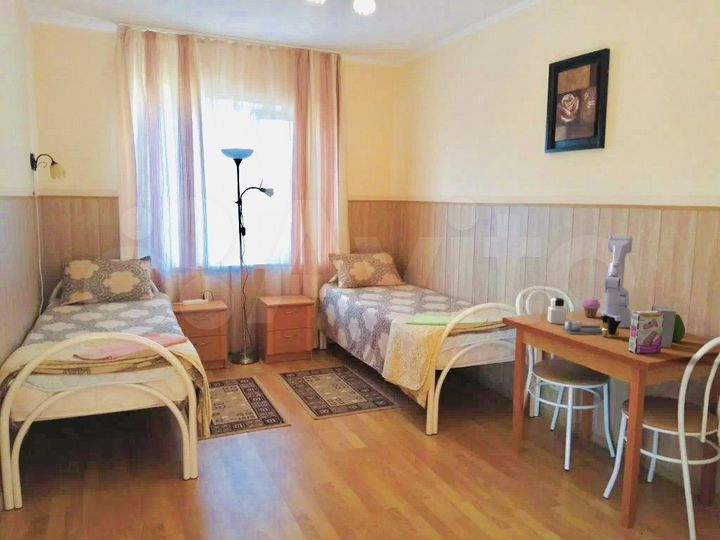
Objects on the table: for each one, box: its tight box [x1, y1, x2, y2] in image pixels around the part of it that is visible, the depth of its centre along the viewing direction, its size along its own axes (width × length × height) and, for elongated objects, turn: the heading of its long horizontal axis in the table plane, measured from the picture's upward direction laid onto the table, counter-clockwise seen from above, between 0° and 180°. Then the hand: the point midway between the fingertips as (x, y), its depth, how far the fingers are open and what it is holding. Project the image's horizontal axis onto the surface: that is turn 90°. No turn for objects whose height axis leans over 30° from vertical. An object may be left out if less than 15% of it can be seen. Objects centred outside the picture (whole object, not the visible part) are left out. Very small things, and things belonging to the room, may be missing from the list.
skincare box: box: [650, 305, 677, 348], centre depth 227 cm, size 8×7×16 cm
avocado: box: [672, 313, 686, 343], centre depth 233 cm, size 8×8×12 cm
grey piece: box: [561, 318, 602, 335], centre depth 250 cm, size 17×10×5 cm, turn 90°
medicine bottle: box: [546, 297, 567, 325], centre depth 268 cm, size 7×7×12 cm
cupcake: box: [581, 297, 601, 318], centre depth 281 cm, size 9×9×10 cm
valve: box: [600, 322, 620, 339], centre depth 241 cm, size 7×4×7 cm, turn 90°
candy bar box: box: [628, 310, 664, 355], centre depth 216 cm, size 11×5×16 cm, turn 99°
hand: (609, 333), depth 241 cm, fingers closed on valve, 4 cm apart
